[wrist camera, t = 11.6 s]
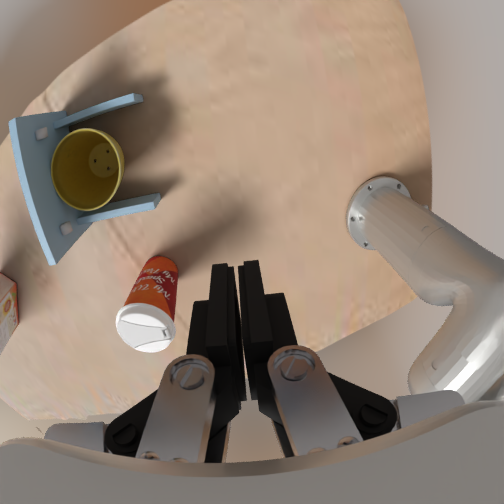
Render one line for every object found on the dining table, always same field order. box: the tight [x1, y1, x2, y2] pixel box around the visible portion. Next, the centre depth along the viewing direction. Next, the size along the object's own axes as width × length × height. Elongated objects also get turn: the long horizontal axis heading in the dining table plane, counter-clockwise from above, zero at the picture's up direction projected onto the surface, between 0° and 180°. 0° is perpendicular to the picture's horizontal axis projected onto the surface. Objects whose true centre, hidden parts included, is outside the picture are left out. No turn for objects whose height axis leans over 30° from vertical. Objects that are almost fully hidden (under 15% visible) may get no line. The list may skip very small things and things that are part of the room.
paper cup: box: [116, 256, 178, 352], centre depth 36 cm, size 8×8×14 cm
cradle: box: [9, 93, 161, 265], centre depth 27 cm, size 13×18×12 cm
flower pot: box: [51, 128, 124, 211], centre depth 29 cm, size 10×10×7 cm
